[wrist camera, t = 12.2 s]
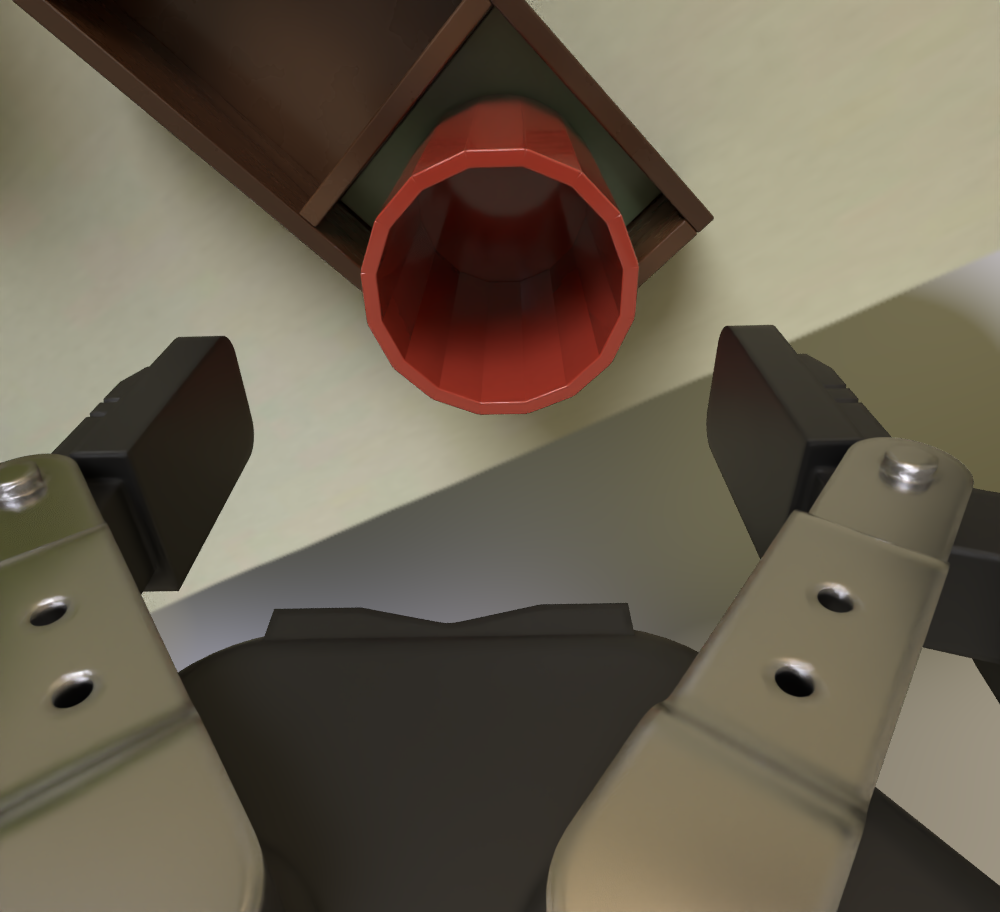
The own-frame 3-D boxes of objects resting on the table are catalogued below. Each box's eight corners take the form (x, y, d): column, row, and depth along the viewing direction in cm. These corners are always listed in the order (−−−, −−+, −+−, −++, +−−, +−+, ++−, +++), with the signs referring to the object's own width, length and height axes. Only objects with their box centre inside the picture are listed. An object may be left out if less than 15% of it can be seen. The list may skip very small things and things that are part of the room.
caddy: (504, 357, 27) (504, 411, 24) (91, -2, 21) (9, -1, 17) (685, 185, 24) (715, 218, 20) (252, -311, 17) (189, -385, 14)
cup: (419, 287, 25) (380, 417, 17) (400, 95, 21) (343, 153, 14) (591, 283, 25) (627, 412, 17) (600, 89, 21) (649, 145, 14)
